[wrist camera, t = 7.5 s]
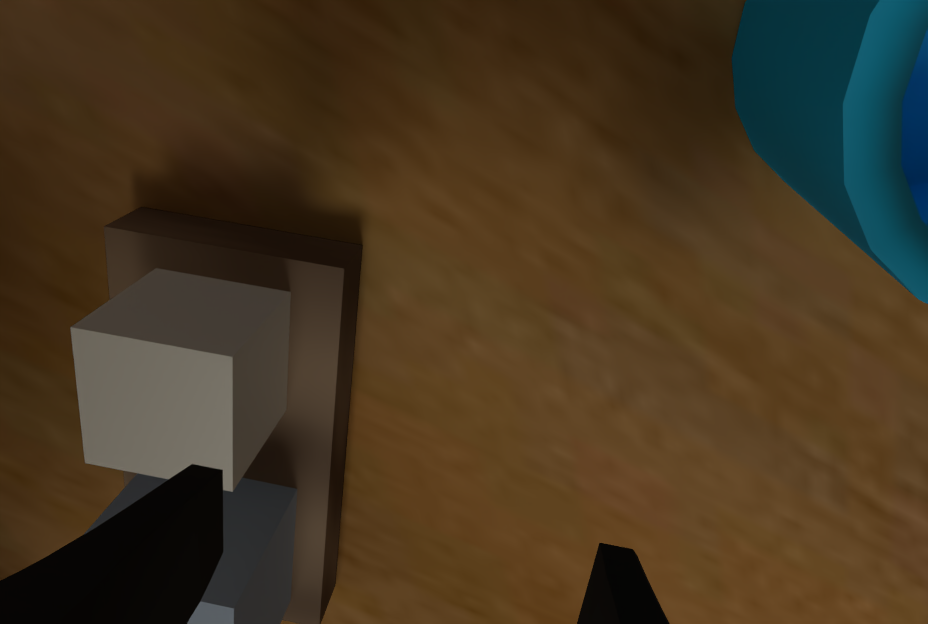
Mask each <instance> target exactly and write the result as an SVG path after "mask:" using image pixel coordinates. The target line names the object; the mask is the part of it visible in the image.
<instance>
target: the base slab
mask: <svg viewBox="0 0 928 624" xmlns="http://www.w3.org/2000/svg"><path fill="white" fill-rule="evenodd" d="M104 234H105V247H106V259H107V272H108V284H109V297H110V300H111V299H112V298H113V297H115V296H116V295H118V294H119V293H121V292H122V291H124V290H125V289H127V288H128V287H129V286H131V285H132V284H134V283H135V282H137V281H138V280H140V279H141V278H142V277H144V276H145V275H147V274H148V273H150V272H151V271H153V270H154V269H156V268H159V269H164V270H170V271H176V272H181V273H187V274H192V275H198V276H204V277H209V278H215V279H221V280H226V281H232V282H237V283H243V284H249V285H254V286H260V287H265V288H271V289H277V290H282V291H288V292H291V298H290V326H289V353H288V381H287V408H286V411H285V413H284V414H283V416H282V417H281V419H280V420H279V422H278V423H277V425H276V426H275V428H274V430H273V431H272V433H271V434H270V436H269V437H268V439H267V440H266V442H265V443H264V445H263V446H262V448H261V449H260V451H259V452H258V454H257V455H256V457H255V459H254V460H253V462H252V463H251V465H250V466H249V468H248V469H247V471H246V472H245V474H244V475H243V477H242V478H246V479H251V480H256V481H261V482H266V483H271V484H276V485H281V486H285V487H290V488H295V489H297V504H296V520H295V536H294V552H293V568H292V585H291V601H290V603H289V605H288V607H287V609H286V612H285V614H284V616H283V618H282V620H285V621H290V622H295V623H300V624H321V621H322V619H323V616H324V613H325V611H326V608H327V606H328V603H329V600H330V598H331V595H332V593H333V590H334V587H335V580H336V568H337V556H338V543H339V531H340V518H341V506H342V493H343V481H344V468H345V456H346V443H347V431H348V418H349V406H350V393H351V381H352V368H353V356H354V343H355V331H356V318H357V306H358V293H359V281H360V269H361V256H362V245H357V244H352V243H346V242H340V241H334V240H328V239H323V238H317V237H311V236H305V235H300V234H294V233H288V232H282V231H276V230H271V229H265V228H259V227H253V226H248V225H242V224H236V223H230V222H224V221H219V220H213V219H207V218H201V217H196V216H190V215H184V214H178V213H173V212H167V211H161V210H155V209H149V208H144V207H140V208H138V209H137V210H135V211H133V212H131V213H129V214H127V215H125V216H123V217H121V218H119V219H117V220H115V221H113V222H112V223H110V224H108V225H106V226H104ZM136 474H137V473H134V472H129V471H124V484H125V487H126V486H127V485H128V483H129V482H130V481H131V480H132V479H133V478H134V477H135V475H136Z"/></svg>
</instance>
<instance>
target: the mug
mask: <svg viewBox="0 0 928 624" xmlns="http://www.w3.org/2000/svg"><path fill="white" fill-rule="evenodd" d="M732 68H733V82H734V95H735V108H736V110H737V113H738V115H739V117H740V119H741V122H742V124H743V126H744V129H745V131H746V133H747V135H748V138H749V140H750V142H751V145H752V147H753V149H754V151H755V152H756V153H757V154H758V155H759V156H760V157H761V158H762V159H763V160H764V161H765V162H766V163H767V164H768V165H769V166H770V167H771V168H772V169H773V170H774V171H775V172H776V173H777V174H778V175H779V176H780V177H781V179H782V180H783V181H784V182H785V183H787V184H788V185H789V186H790V187H791V188H792V189H793V190H795V191H796V192H797V193H798V194H799V195H800V196H801V197H802V198H804V199H805V200H806V201H807V202H808V203H809V204H810V205H812V206H813V207H814V208H815V209H816V210H817V211H818V212H820V213H821V214H822V215H823V216H824V217H825V218H826V219H828V220H829V221H830V222H831V223H832V224H833V225H834V226H835V227H837V228H838V229H839V230H840V231H841V232H842V233H843V234H845V235H846V236H847V237H848V238H849V239H850V240H851V241H853V242H854V243H855V244H856V245H857V246H858V247H859V248H861V249H862V250H863V251H864V252H865V253H866V254H867V255H869V256H870V257H871V258H872V259H873V260H874V261H875V262H876V263H878V264H879V265H880V266H881V267H882V268H883V269H884V270H886V271H887V272H888V273H889V274H890V275H891V276H892V277H894V278H895V279H896V280H897V281H898V282H899V283H900V284H902V285H903V286H904V287H905V288H906V289H907V290H908V291H910V292H911V293H912V294H913V295H914V296H915V297H916V298H917V299H919V300H921V301H923V302H925V303H927V304H928V0H746V2H745V4H744V8H743V13H742V17H741V21H740V25H739V29H738V34H737V38H736V42H735V46H734V50H733V55H732Z"/></svg>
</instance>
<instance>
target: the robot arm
mask: <svg viewBox="0 0 928 624" xmlns="http://www.w3.org/2000/svg"><path fill="white" fill-rule="evenodd" d="M222 554H223V470H221V469H216V468H211V467H205V466H200V465H195V464H191V465H190V466H188V467H187V468H185V469H184V470H182V471H181V472H179V473H177V474H176V475H174V476H173V477H171V478H170V479H168V480H167V481H165V482H164V483H162V484H161V485H159V486H158V487H157V488H155V489H154V490H152V491H151V492H149V493H148V494H146V495H145V496H143V497H142V498H140V499H139V500H137V501H136V502H134V503H133V504H131V505H130V506H128V507H127V508H125V509H124V510H122V511H121V512H119V513H117V514H116V515H114V516H113V517H111V518H110V519H108V520H107V521H105V522H103V523H102V524H100V525H99V526H97V527H96V528H94V529H93V530H91V531H89V532H88V533H86V534H84V535H83V536H81V537H79V538H77V539H76V540H74V541H72V542H71V543H69V544H67V545H66V546H64V547H62V548H61V549H59V550H57V551H55V552H54V553H52V554H50V555H49V556H47V557H45V558H43V559H42V560H40V561H38V562H36V563H34V564H32V565H30V566H29V567H27V568H25V569H23V570H21V571H19V572H17V573H15V574H13V575H11V576H9V577H7V578H5V579H3V580H1V581H0V624H187V623H188V621H189V619H190V618H191V616H192V614H193V613H194V611H195V609H196V608H197V606H198V605H199V603H200V601H201V599H202V597H203V595H204V593H205V591H206V589H207V587H208V585H209V583H210V580H211V578H212V576H213V574H214V572H215V569H216V567H217V565H218V563H219V561H220V558H221V556H222ZM577 624H669V622H668V620H667V618H666V616H665V614H664V612H663V610H662V608H661V606H660V604H659V602H658V600H657V598H656V596H655V594H654V592H653V590H652V587H651V585H650V583H649V581H648V579H647V577H646V575H645V572H644V570H643V568H642V566H641V563H640V561H639V559H638V556H637V555H636V553H635V552H634V550H633V549H629V548H624V547H619V546H614V545H608V544H603V543H599V547H598V550H597V554H596V558H595V561H594V565H593V568H592V572H591V575H590V579H589V583H588V586H587V590H586V593H585V597H584V600H583V604H582V608H581V611H580V615H579V618H578V622H577Z"/></svg>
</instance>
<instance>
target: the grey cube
mask: <svg viewBox="0 0 928 624" xmlns="http://www.w3.org/2000/svg"><path fill="white" fill-rule="evenodd" d="M167 480H168V479H164V478H159V477H154V476H149V475H144V474H139V473H137V474H136V475H135V477H134V478H133V479H132V480H131V481H130V482H129V483H128V485H127V486H126V487H125V488H124V489H123V490H122V491H121V493H120V494H119V495H118V496H117V497H116V498H115V499H114V501H113V502H112V503H111V504H110V505H109V506H108V507H107V509H106V510H105V511H104V512H103V513H102V514H101V515H100V517H99V518H98V519H97V520H96V521H95V522H94V523H93V525H92V526H91V527H90V528H89V529H88V530H87V531H86V533H88V532H89V531H91V530H93V529H94V528H96V527H97V526H99V525H100V524H102V523H103V522H105V521H107V520H108V519H110V518H111V517H113V516H114V515H116V514H117V513H119V512H121V511H122V510H124V509H125V508H127V507H128V506H130V505H131V504H133V503H134V502H136V501H137V500H139V499H140V498H142V497H143V496H145V495H146V494H148V493H149V492H151V491H152V490H154V489H155V488H157V487H158V486H159V485H161V484H162V483H164V482H165V481H167ZM296 504H297V489H295V488H290V487H285V486H281V485H276V484H271V483H266V482H261V481H256V480H251V479H246V478H241V480H240V481H239V483H238V484H237V486H236V488H235V489H234V491H233V492H231V491H226V490H223V554H222V556H221V558H220V561H219V563H218V565H217V567H216V569H215V572H214V574H213V576H212V578H211V580H210V583H209V585H208V587H207V589H206V591H205V593H204V595H203V597H202V599H201V601H200V603H199V605H198V606H197V608H196V609H195V611H194V613H193V614H192V616H191V618H190V619H189V621H188V623H187V624H280V623H281V621H282V618H283V616H284V614H285V612H286V609H287V607H288V605H289V603H290V601H291V585H292V568H293V552H294V536H295V520H296ZM86 533H85V534H86Z"/></svg>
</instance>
